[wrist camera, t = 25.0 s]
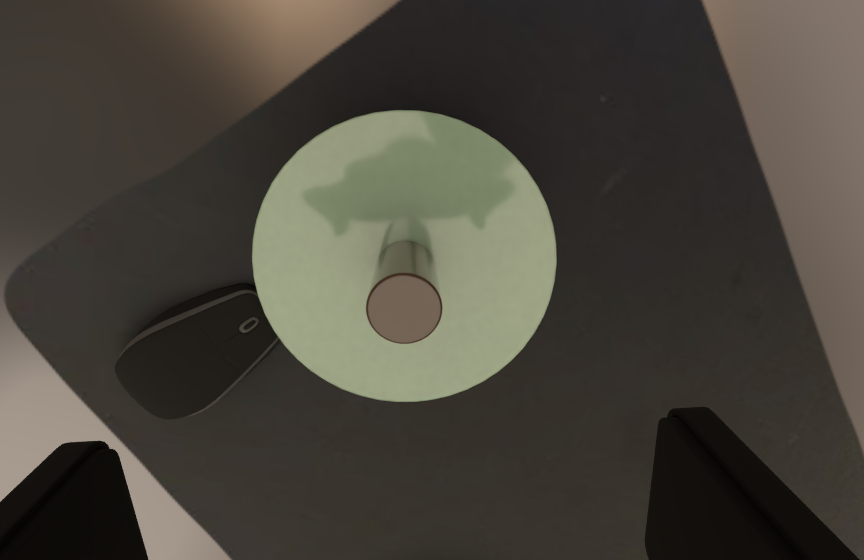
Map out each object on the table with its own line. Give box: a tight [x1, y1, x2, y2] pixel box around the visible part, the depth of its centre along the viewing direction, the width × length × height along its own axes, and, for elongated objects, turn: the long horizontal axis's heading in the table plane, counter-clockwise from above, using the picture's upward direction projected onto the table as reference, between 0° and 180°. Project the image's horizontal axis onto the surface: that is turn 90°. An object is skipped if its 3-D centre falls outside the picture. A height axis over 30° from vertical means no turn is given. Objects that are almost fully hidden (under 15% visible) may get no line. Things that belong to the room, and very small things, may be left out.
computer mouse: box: [115, 284, 280, 419], centre depth 34 cm, size 7×12×4 cm, turn 121°
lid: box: [252, 110, 557, 402], centre depth 20 cm, size 13×13×6 cm
